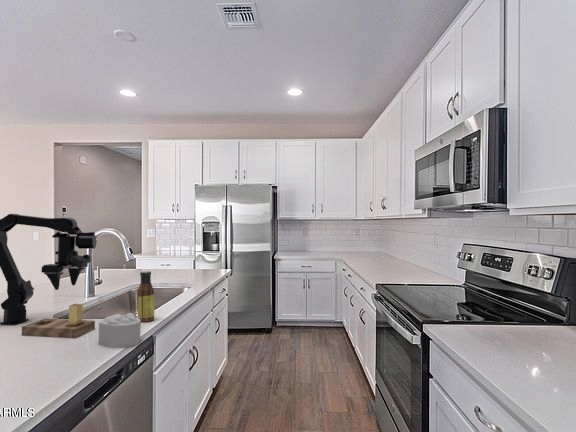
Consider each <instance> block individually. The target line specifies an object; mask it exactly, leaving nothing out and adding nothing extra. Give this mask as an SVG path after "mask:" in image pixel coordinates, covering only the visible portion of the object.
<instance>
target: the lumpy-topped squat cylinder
mask: <svg viewBox="0 0 576 432" xmlns="http://www.w3.org/2000/svg"><path fill="white" fill-rule="evenodd" d="M98 322H99V323H98V345H99V346H103V347H105V348H107V347H108V348H117V349H118V348H128V347H135V346H137V345H139V344H140V343H141V328H142V327H141V324H142V322H141V320H140V319H139V318H138V316H135V314H134V313H132V312H129V313H126V314H125V315H123V314H122V313H121V314H120V313H116V314H113V315H109V316H107V317H105V318H103V319H102V320H101V319H100V321H98Z"/></svg>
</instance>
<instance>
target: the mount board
mask: <svg viewBox="0 0 576 432" xmlns="http://www.w3.org/2000/svg"><path fill="white" fill-rule="evenodd" d="M68 323H69V319H62V318H42V319H40V320H37V321H35V322H30V323H29V324H25V325H22V326H21V336H24V337H26V336H27V337H29V336H30V337H48V338H66V339H67V338H69V339H77V338H79V337H81V336H83V335H85V334H87V333H89V332H92V331H94V330H95V329H96V328H95V327H96V321H95V320H84V319H82V325H80V326H78V327H69V326H68Z"/></svg>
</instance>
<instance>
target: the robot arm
mask: <svg viewBox="0 0 576 432" xmlns="http://www.w3.org/2000/svg"><path fill="white" fill-rule="evenodd" d="M17 225H22V226H31V227H41V228H47V229H50V230H54V231H57V232H55V234H53V235H51V237H52V238H53V239H54V238H55V239H57V238H58V239H57V244H58V245H57V251H55V252H54V253H55V255H57V261H54V263H48V264H44V265H42V266H41V268H40V269H41V273H43V274H44V275H46V277H47V278H48V280H49V281H50V283H51V285H52V287H53V289H54V290H55V291H58V290H59V288H60V281H61V276H62V275H63V274H64V272H63V270H65V269H68V275H69V279H70V283H71V286H76V284H77V281H78V278H79V276H80V273H81V272H82V271H84V270H85V269H86V268H88V267H89V263H91V255H90V254H84V255H80V254H79V252H78V250H76V247H77V248H78V249H81V250H83V249H88V250H90V249H94V250H95V248H96V247H97V242H98V241H97V236H96V232H95V231H90V232H83V231H82V230H81V229H80V227H79V226H78V221H76V219H75V218H72V217H54V218H52V217H51V218H50V217H41V216H31V215H24V214H23V215H22V214H18V213H9V214H6V215H5V216H4V217H3V218H0V271H1V272H2V275H3V277H4V278H5V281H6V283H7V286H6V287H7V289H6V294H7V298H6V299H5V300H4V301H3V302H2V303H0V306H1V309H2V310H3V321H0V325H10V326H11V325H13V326H14V325H19V324H21V323H24V322H27V321H30V320H29V318H27V309H26V308H27V306H26V304H28V301H29V300H30V299H31V298H33V296H34V290H35V287H33V285H32V281H31V280H25V279H23V277H22V275H21V272H20V271H19V268H18V266H17V264H16V262H15V260H14V258H13V255H12V253H11V251H10V249H9V246H8V232H9V231H12V229H14V227H16V226H17Z"/></svg>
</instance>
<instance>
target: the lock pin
mask: <svg viewBox="0 0 576 432" xmlns="http://www.w3.org/2000/svg"><path fill="white" fill-rule="evenodd" d="M83 305H84V304H83V303H73V304H70V305H68V320H69V323H68V326H69V327H78V326H80V325H82V320H83V308H84V307H83Z"/></svg>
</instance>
